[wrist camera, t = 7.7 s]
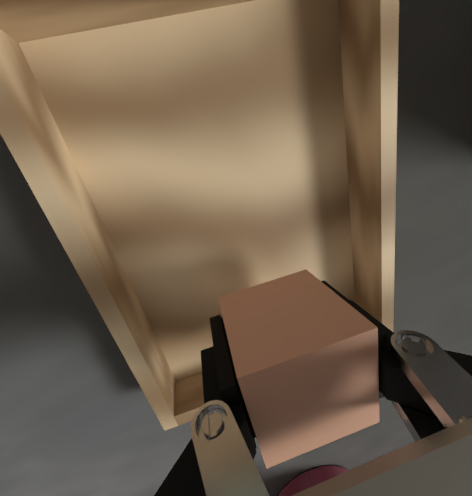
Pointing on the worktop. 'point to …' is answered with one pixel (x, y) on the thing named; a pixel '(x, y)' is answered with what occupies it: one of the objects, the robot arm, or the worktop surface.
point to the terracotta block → (301, 364)
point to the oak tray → (205, 158)
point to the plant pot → (311, 479)
